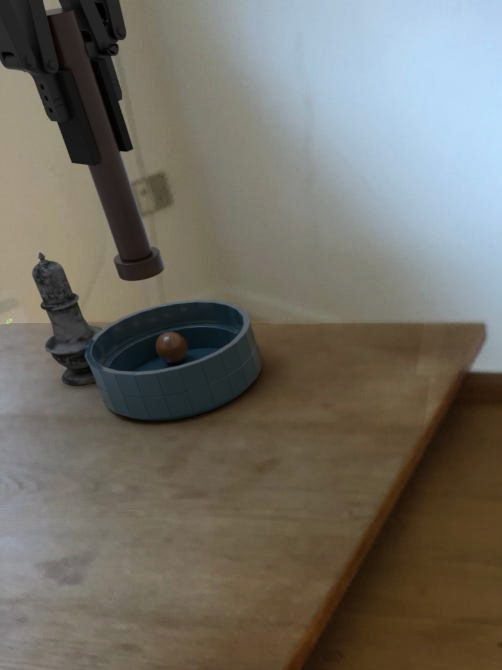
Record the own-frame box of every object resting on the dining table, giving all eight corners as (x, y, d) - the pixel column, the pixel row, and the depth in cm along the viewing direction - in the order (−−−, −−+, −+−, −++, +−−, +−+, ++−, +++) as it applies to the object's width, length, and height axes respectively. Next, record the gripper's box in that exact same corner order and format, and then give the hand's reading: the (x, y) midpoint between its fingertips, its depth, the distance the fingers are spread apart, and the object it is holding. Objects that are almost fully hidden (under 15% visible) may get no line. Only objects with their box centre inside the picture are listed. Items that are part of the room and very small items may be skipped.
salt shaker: (130, 362, 97) (85, 242, 88) (91, 390, 93) (40, 267, 85) (86, 355, 99) (38, 238, 91) (46, 383, 95) (-7, 262, 87)
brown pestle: (113, 283, 83) (18, 19, 69) (126, 264, 86) (38, 8, 72) (157, 279, 82) (71, 14, 69) (170, 261, 85) (89, 3, 72)
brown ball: (161, 371, 94) (148, 350, 91) (166, 346, 95) (152, 325, 93) (190, 368, 94) (177, 348, 91) (195, 344, 95) (182, 323, 92)
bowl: (82, 430, 87) (61, 380, 84) (131, 353, 98) (114, 306, 95) (245, 418, 86) (229, 367, 82) (276, 341, 97) (263, 293, 93)
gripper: (-104, -231, 55) (56, 193, 71) (103, -250, 65) (203, 129, 81) (-175, -219, 59) (-7, 184, 75) (32, -239, 68) (142, 123, 84)
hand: (102, 155), depth 78 cm, fingers closed on brown pestle, 3 cm apart
